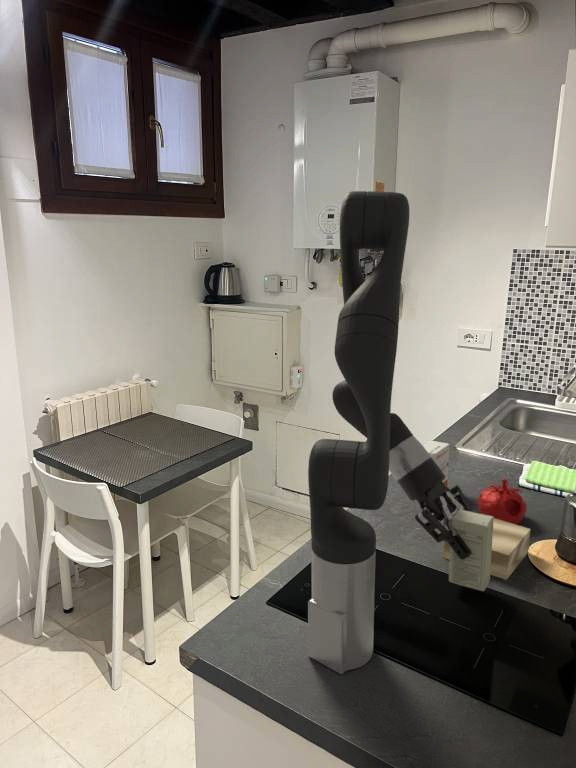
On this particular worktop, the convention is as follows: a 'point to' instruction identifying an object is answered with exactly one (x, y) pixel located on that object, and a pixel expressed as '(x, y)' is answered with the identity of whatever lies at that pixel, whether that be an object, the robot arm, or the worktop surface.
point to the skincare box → (472, 550)
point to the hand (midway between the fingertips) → (473, 549)
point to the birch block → (505, 547)
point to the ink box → (439, 456)
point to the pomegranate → (502, 503)
